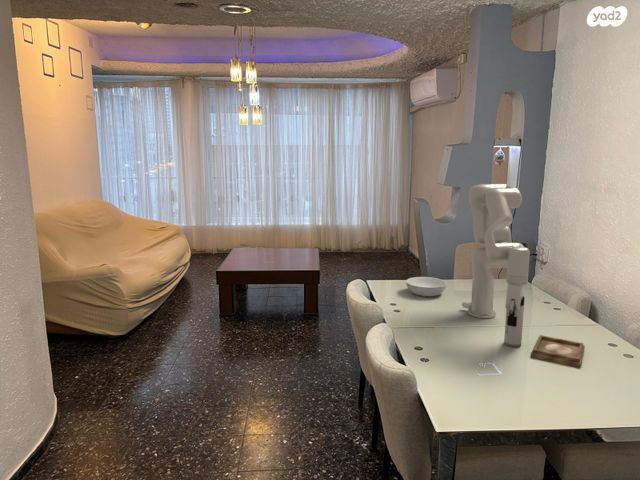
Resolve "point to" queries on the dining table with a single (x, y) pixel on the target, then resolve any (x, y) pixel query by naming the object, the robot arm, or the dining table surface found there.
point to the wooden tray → (558, 351)
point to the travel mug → (514, 328)
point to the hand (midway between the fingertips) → (514, 322)
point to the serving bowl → (426, 286)
